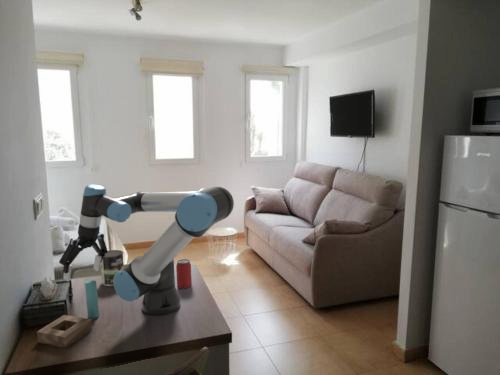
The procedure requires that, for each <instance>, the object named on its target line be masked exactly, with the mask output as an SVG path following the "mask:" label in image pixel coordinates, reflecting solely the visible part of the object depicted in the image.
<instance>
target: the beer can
mask: <svg viewBox="0 0 500 375" xmlns="http://www.w3.org/2000/svg"><path fill="white" fill-rule="evenodd" d="M175 268H176V285H177V288H178V289H181V290H182V289H189V288H190V287H191V286H192V285H193V283H192V278H193V277H192V264H191V262H190V260H189V259H187V258H182V259H179V260H177V263H176V266H175Z"/></svg>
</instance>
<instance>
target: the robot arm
mask: <svg viewBox="0 0 500 375" xmlns="http://www.w3.org/2000/svg"><path fill="white" fill-rule="evenodd" d="M106 191H107V189H106V187H105V186H103V185H100V184H93V183H92V184H87V185H85V187H84V190H83V195H82V203H81V209H80V217H79V224H78V230H77V234H78V236H77V238H72V237H71V238H70V239H69V244H68V245H67V247H66V249H65V250H64V252H63V254H62V256H61V258H60V259H59V261H58V262H59V264H61V265H62V266H63V267H62V269H63V270H62V272H63V278H62V279H63V280H64V281H66V282H70V281H71V276H72V269H73V268H72V267H73V264H72V263H73V261H75V259H76V258H77V257H78V256H79V254H80V253H82V251H84V250H86V249H88V248H93V250H94V252H96V253H97V254H95V256H94V262H93V266H92V267H93V268H92V269H93V270H94V271H95V272H97V273H98V272H100V270H101V262H102V257H104V256H105V253H107V252H108V251H109V250H108V248H107V244H106V241H105V234H104V233H102V232H100V228H101V222H102V216H103V217H105V218H107V219H109V220H111V221H114V222H117V223H124V222H126V221H127V220H128V219H129V218H130V216H131V215H132V214H135V213H148V212H149V213H153V212H155V213H157V212H158V213H159V212H163V213H166V212H167V213H169V212H170V213H172V212H173V213H175V214H174V221H173V222H172V223H171V224H170V225H169V226H168V227H167V229H166V230H165V231H164V232H163V233H162V234H161V235H160V236H159V237H158V238H157V239H156V240H155V242H153V244H152V245H151V246H150V247H149V248H148V250H146V251H145V252H144V253H143V255H139V256H136V257H135V258H134V259H132V261H131V262H130V263H129V264H128V265H127V266H126V267H124V269H123V270H120V271H119V272H118V273H116V274H115V276H114V279H113V284H114V286H113V288H114V290H115V293H116V294H117V296H118V297H119V298H120V299H122V300H123V301H126V302H130V303H131V302H133V301H136V300H139V298H140V297H142V298H143V299H142V302H141V307H142V308H141V309H142V311H143V312H144V313H146V314H148V315H152V316H160V315H161V316H162V315H166V314H170V313H173V312H175V311H177V310H178V309H179V308H180V306H181V298H180V296H179V293H178V290H177V289H176V281H175V280H176V279H175V278H176V276H175V258H176V257H177V256H178V255H179V254H180V253H181V252H182V250H184V248H185V247H187V246H188V244H190V242H192V240H193V239H194V238H195V239H196V238H197V239H199V238H201V237H203V235H204V234H206V233H207V232H208V230H210V229H211V227H213V225H215V224H217V223H219V222H221V221H222V220H225V219H227V218H228V217H229V216H230V215H231V213H232V212H233V210H234V207H235V205H234V197H233V195H232V194H231V192H230V191H229V190H228V189H226V188H224V187H222V186H212V187H205V188H204V187H203V188H200V190H199V191H198V190H197V191H196V190H195V191H194V190H193V191H166V192H165V191H161V192H159V191H158V192H148V191H138V192H135V193H134V192H133V193H130V194H127V195H122V196H118V197H112V196H111V195H107V192H106ZM97 241H98V243H97Z"/></svg>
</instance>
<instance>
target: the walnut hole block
mask: <svg viewBox="0 0 500 375" xmlns="http://www.w3.org/2000/svg"><path fill="white" fill-rule="evenodd" d="M91 331H92V319H88V318H85V317H80V316H79V317H78V316H73V315H68V314H63V315H62V316H60V317H58V318H57V319H55V320H53V321H52V322H50V323H49V324H46V325H45V326H43V327H42V328H41V329H39V330H38V331H36V334H37V342H38V344H43V345H48V346H54V347H58V348H63V349H67V348H69V347H70V346H72V345H73V344H74V343H76V342H77V341H78V340H80V339H81V338H82V337H84V336H85V335H86V334H88V333H89V332H91Z"/></svg>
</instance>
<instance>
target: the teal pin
mask: <svg viewBox="0 0 500 375" xmlns="http://www.w3.org/2000/svg"><path fill="white" fill-rule="evenodd" d="M84 289H85V302H86V310H87V311H86V312H87V319H91V320H95V319H97V318H99V317H100V310H99V300H98V286H97V281H96V280H94V279H93V280H92V279H91V280H88V281H86V282H84Z"/></svg>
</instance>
